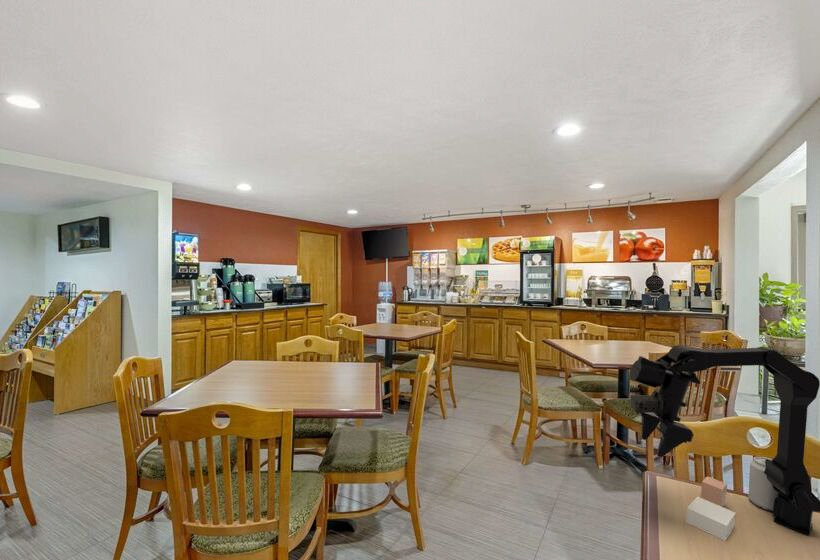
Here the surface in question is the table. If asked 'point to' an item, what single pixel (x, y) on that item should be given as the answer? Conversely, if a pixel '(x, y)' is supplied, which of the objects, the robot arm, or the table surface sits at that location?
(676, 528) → the table surface
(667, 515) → the table surface
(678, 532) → the table surface
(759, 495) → the can
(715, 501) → the block
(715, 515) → the white rectangular box
